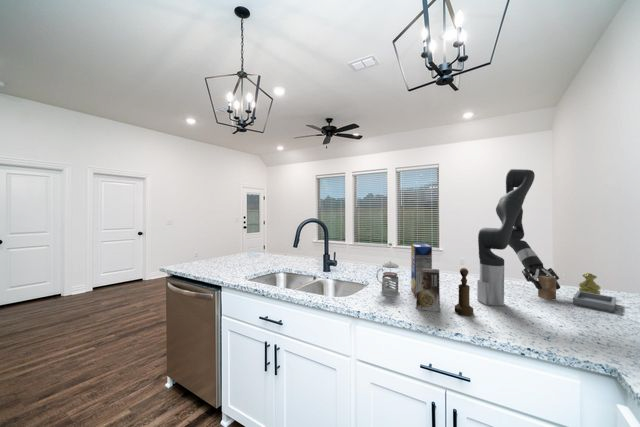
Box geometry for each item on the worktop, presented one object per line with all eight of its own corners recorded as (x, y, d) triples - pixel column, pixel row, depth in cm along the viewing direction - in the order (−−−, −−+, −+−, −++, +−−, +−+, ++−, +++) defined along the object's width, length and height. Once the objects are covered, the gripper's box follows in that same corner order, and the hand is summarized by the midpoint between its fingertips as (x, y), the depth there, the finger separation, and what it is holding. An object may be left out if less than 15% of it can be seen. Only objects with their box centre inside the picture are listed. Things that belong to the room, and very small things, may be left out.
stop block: (546, 299, 121) (546, 278, 121) (538, 296, 125) (538, 275, 125) (556, 299, 121) (556, 277, 121) (547, 296, 125) (547, 275, 125)
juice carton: (411, 289, 137) (411, 243, 137) (426, 290, 136) (426, 243, 135) (415, 296, 125) (415, 246, 125) (431, 297, 124) (431, 247, 124)
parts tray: (614, 312, 105) (614, 305, 105) (572, 304, 114) (572, 297, 114) (615, 304, 115) (616, 297, 115) (577, 297, 124) (577, 290, 124)
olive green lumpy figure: (590, 291, 132) (590, 271, 132) (605, 296, 125) (605, 275, 125) (574, 291, 133) (574, 271, 133) (588, 296, 126) (588, 275, 125)
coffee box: (439, 306, 112) (439, 269, 112) (439, 312, 107) (439, 272, 106) (417, 303, 116) (417, 267, 116) (415, 308, 110) (415, 270, 110)
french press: (403, 296, 126) (403, 244, 126) (378, 296, 126) (378, 244, 126) (397, 290, 136) (397, 241, 135) (374, 290, 136) (374, 241, 136)
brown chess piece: (471, 311, 108) (471, 267, 107) (475, 317, 102) (475, 270, 101) (453, 309, 110) (453, 266, 110) (456, 314, 104) (456, 269, 103)
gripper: (519, 255, 130) (539, 285, 119) (547, 255, 131) (570, 284, 119) (511, 263, 136) (529, 293, 124) (538, 263, 136) (559, 292, 125)
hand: (549, 288), depth 122 cm, fingers open, 8 cm apart
